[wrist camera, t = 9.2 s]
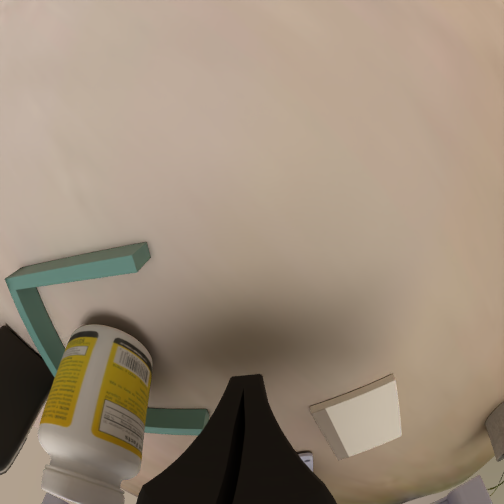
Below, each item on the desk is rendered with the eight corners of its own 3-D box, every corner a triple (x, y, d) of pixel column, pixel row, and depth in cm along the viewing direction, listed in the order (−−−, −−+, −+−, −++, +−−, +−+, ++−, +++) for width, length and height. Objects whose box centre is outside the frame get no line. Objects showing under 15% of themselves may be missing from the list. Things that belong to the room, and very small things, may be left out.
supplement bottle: (75, 362, 15) (41, 490, 7) (69, 308, 13) (8, 471, 5) (149, 384, 17) (136, 519, 8) (161, 337, 14) (141, 518, 6)
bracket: (209, 415, 17) (206, 435, 16) (96, 408, 18) (88, 424, 16) (146, 242, 13) (132, 255, 11) (21, 267, 14) (4, 278, 12)
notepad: (399, 431, 19) (401, 436, 18) (337, 455, 20) (338, 460, 19) (392, 373, 16) (395, 380, 15) (309, 406, 17) (310, 413, 16)
